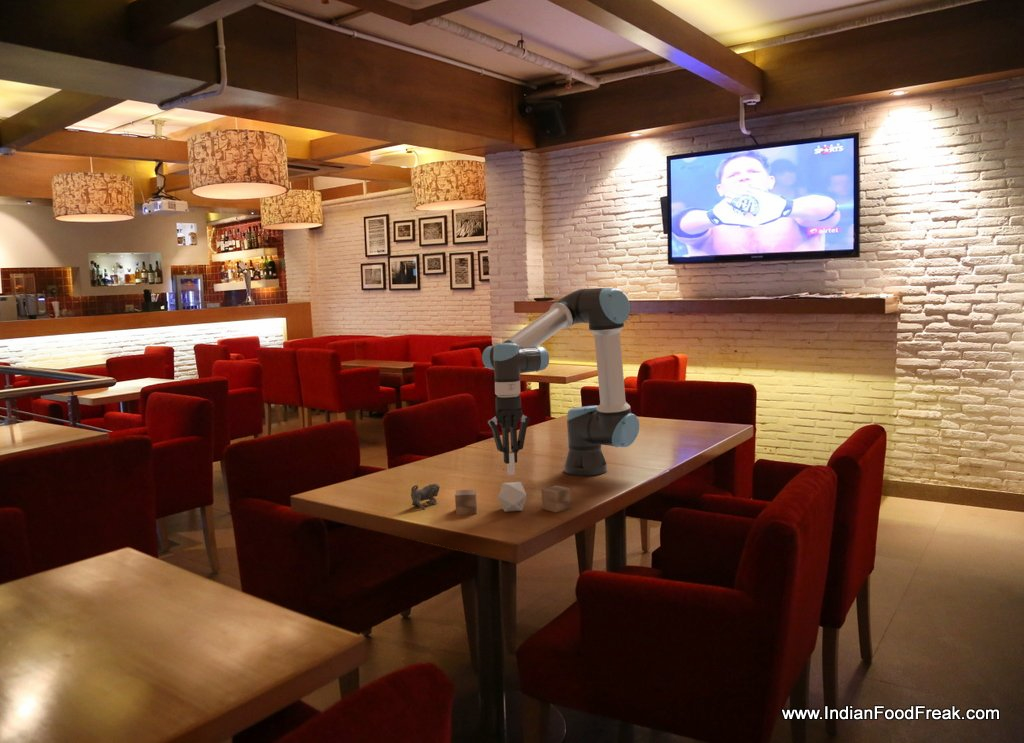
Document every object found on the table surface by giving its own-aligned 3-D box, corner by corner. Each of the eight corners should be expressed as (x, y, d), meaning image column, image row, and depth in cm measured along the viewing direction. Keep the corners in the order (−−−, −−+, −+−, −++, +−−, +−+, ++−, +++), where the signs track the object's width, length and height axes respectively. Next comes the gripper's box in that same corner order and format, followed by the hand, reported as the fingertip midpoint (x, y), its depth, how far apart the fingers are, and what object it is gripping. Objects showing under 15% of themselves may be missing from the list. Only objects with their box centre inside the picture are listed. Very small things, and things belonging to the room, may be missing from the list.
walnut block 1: (477, 508, 239) (476, 489, 238) (476, 514, 233) (475, 494, 232) (457, 509, 238) (456, 490, 238) (456, 515, 233) (455, 495, 232)
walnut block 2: (556, 504, 239) (556, 485, 238) (570, 508, 234) (570, 488, 234) (542, 508, 235) (541, 489, 235) (556, 512, 231) (555, 492, 230)
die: (517, 517, 229) (534, 487, 231) (490, 502, 230) (507, 472, 232) (517, 519, 237) (533, 490, 240) (491, 505, 238) (507, 476, 241)
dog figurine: (419, 511, 238) (418, 487, 237) (406, 508, 242) (405, 484, 241) (447, 501, 248) (446, 478, 247) (434, 499, 251) (432, 476, 250)
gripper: (491, 398, 226) (494, 479, 228) (533, 394, 230) (536, 473, 233) (482, 395, 233) (486, 473, 235) (523, 392, 237) (526, 468, 240)
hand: (511, 473), depth 234 cm, fingers closed
